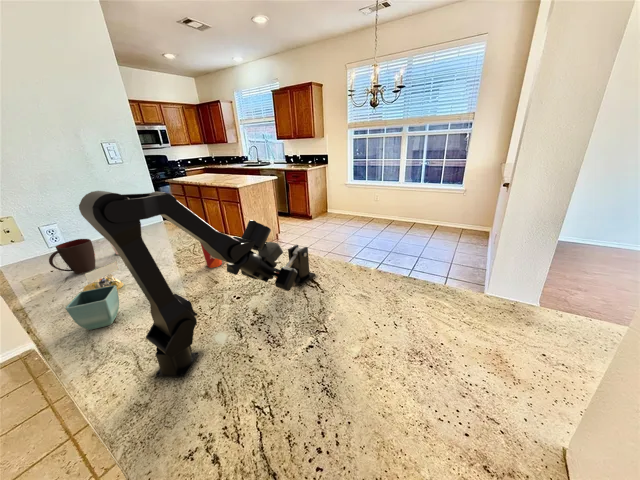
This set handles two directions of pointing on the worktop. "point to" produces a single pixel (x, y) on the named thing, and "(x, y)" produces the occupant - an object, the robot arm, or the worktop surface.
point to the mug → (76, 255)
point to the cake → (105, 281)
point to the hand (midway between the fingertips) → (283, 280)
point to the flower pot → (95, 307)
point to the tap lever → (293, 258)
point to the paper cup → (211, 259)
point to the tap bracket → (301, 265)
